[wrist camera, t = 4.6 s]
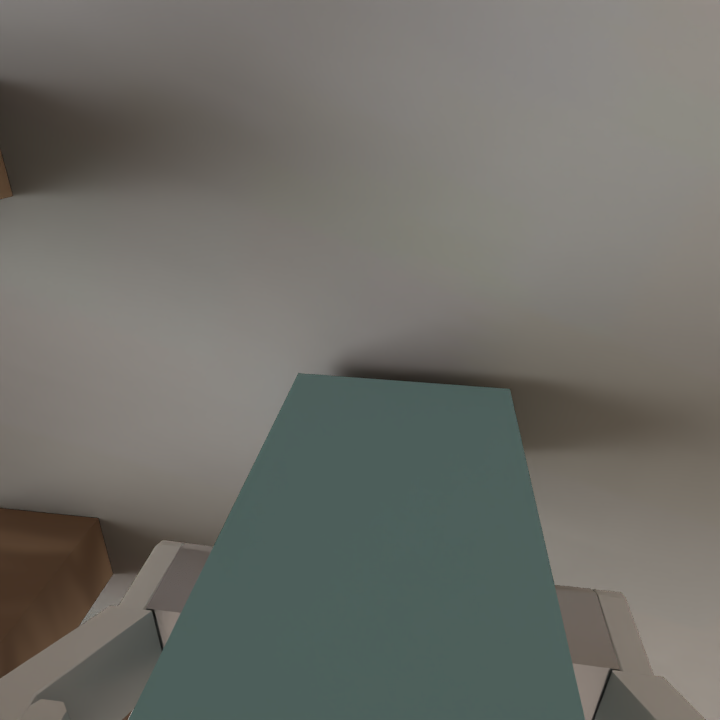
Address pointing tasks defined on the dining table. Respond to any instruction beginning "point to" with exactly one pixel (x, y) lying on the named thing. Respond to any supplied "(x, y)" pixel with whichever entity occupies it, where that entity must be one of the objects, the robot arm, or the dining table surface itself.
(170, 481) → the dining table surface
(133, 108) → the dining table surface
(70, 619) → the domino
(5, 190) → the domino
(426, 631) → the domino
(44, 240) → the dining table surface
